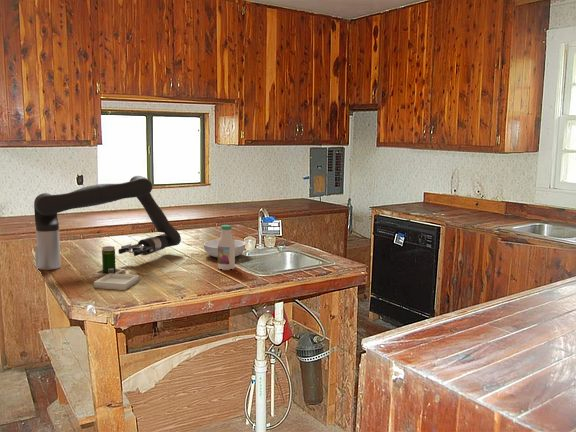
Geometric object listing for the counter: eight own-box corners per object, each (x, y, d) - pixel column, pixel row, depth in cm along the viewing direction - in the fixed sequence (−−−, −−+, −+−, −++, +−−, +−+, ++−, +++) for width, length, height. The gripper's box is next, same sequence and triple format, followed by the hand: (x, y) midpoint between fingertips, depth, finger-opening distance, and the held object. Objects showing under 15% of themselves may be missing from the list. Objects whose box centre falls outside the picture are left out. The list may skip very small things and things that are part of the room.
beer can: (118, 274, 235) (117, 247, 233) (106, 277, 231) (105, 249, 229) (111, 272, 239) (110, 245, 237) (100, 274, 235) (99, 247, 233)
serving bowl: (195, 256, 273) (195, 242, 271) (227, 250, 288) (227, 237, 287) (222, 263, 259) (222, 249, 257) (254, 256, 274) (254, 243, 273)
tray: (94, 287, 215) (94, 281, 215) (109, 279, 228) (109, 273, 228) (125, 290, 213) (125, 283, 213) (139, 281, 226) (139, 275, 226)
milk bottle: (227, 265, 255) (227, 223, 252) (238, 268, 250) (238, 225, 246) (214, 268, 250) (214, 225, 247) (224, 271, 244) (224, 227, 241)
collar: (92, 277, 231) (92, 273, 231) (103, 271, 241) (103, 267, 240) (114, 278, 229) (114, 275, 229) (125, 272, 239) (125, 269, 239)
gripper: (137, 236, 261) (113, 242, 246) (161, 239, 255) (139, 246, 240) (137, 251, 262) (114, 259, 247) (162, 254, 256) (139, 262, 242)
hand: (126, 252), depth 244 cm, fingers open, 8 cm apart
